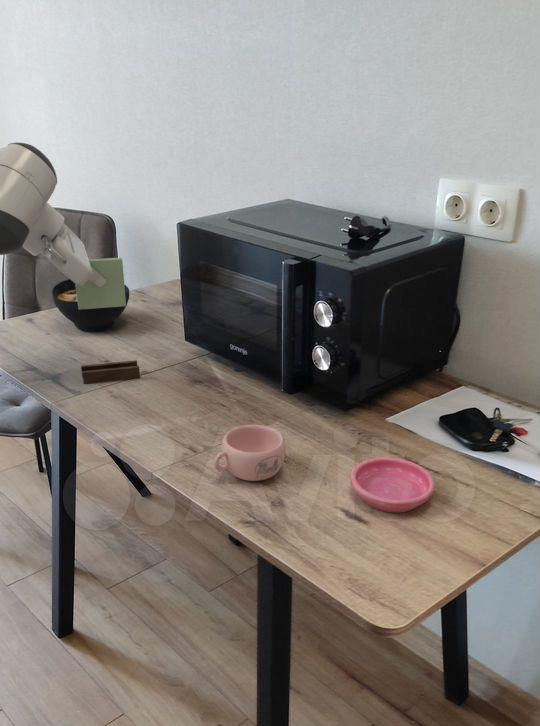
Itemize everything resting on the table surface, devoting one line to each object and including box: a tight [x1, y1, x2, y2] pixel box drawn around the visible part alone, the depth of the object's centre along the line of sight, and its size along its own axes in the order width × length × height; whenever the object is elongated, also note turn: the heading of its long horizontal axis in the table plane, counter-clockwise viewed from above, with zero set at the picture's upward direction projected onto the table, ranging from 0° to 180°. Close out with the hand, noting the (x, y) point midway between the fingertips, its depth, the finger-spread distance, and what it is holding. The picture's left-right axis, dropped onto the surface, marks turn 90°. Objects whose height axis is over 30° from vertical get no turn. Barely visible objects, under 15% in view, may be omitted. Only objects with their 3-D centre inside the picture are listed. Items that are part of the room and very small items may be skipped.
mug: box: [213, 424, 287, 482], centre depth 109 cm, size 12×10×6 cm
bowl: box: [51, 278, 130, 333], centre depth 161 cm, size 17×17×10 cm
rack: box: [80, 359, 141, 385], centre depth 139 cm, size 11×4×2 cm, turn 107°
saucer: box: [350, 456, 436, 513], centre depth 106 cm, size 12×12×3 cm
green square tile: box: [75, 257, 127, 310], centre depth 132 cm, size 9×1×9 cm, turn 107°
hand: (102, 281), depth 132 cm, fingers closed on green square tile, 1 cm apart
